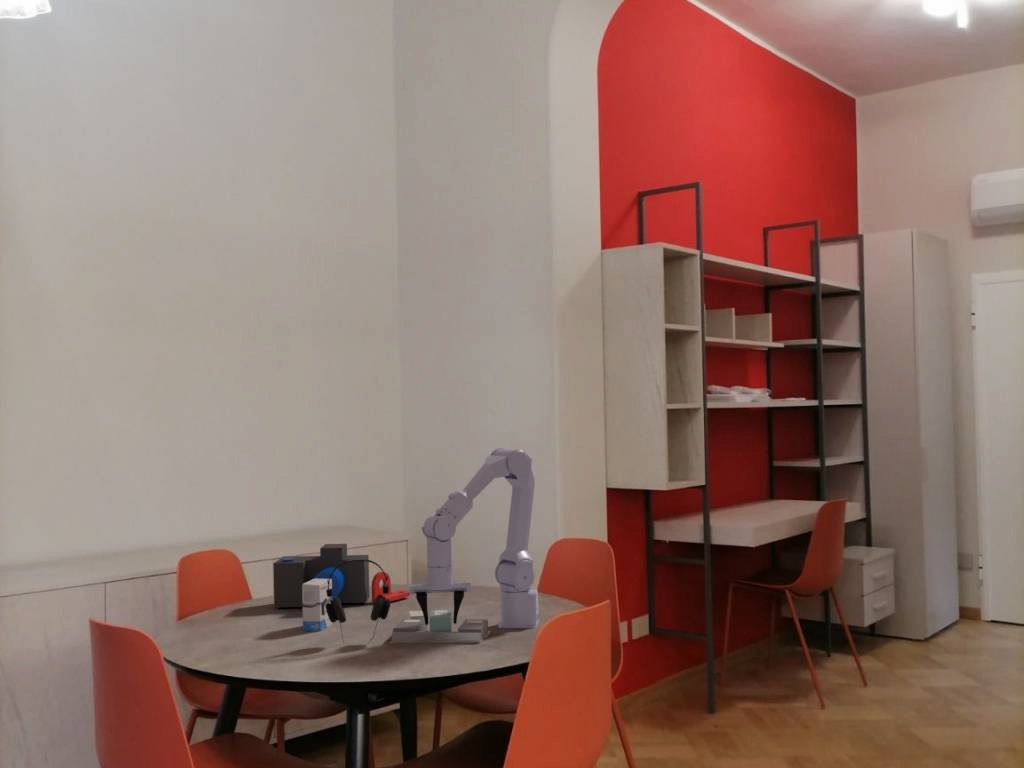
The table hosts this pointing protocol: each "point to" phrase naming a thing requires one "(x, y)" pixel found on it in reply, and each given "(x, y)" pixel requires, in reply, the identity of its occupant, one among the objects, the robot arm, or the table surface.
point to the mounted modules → (466, 626)
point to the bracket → (379, 591)
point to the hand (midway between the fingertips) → (440, 623)
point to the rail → (436, 637)
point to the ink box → (315, 604)
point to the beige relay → (417, 616)
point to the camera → (321, 576)
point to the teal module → (441, 620)
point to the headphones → (379, 606)
